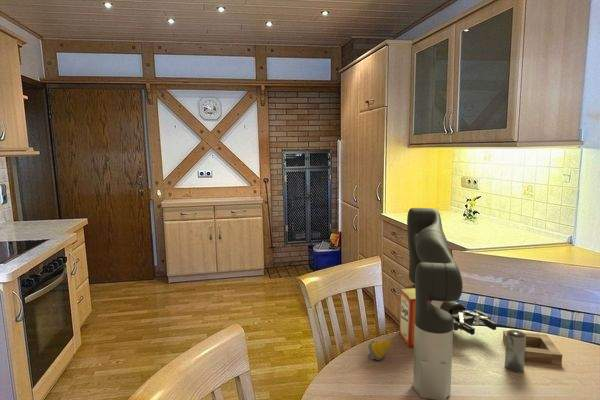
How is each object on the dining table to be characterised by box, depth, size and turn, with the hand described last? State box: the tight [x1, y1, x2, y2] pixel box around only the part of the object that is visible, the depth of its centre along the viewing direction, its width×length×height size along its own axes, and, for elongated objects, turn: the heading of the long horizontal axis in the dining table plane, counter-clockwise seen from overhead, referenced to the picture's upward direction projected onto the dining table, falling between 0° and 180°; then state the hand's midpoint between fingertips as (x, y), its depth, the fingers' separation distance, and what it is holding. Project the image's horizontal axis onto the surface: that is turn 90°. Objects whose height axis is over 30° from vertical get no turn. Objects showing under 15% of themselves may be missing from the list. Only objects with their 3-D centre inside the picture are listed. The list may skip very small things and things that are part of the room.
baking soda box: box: [398, 287, 431, 349], centre depth 125 cm, size 10×6×16 cm
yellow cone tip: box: [367, 339, 393, 361], centre depth 114 cm, size 5×5×10 cm
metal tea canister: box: [504, 329, 527, 374], centre depth 109 cm, size 5×5×10 cm
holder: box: [502, 330, 563, 366], centre depth 118 cm, size 12×12×3 cm
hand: (484, 329), depth 119 cm, fingers open, 8 cm apart
